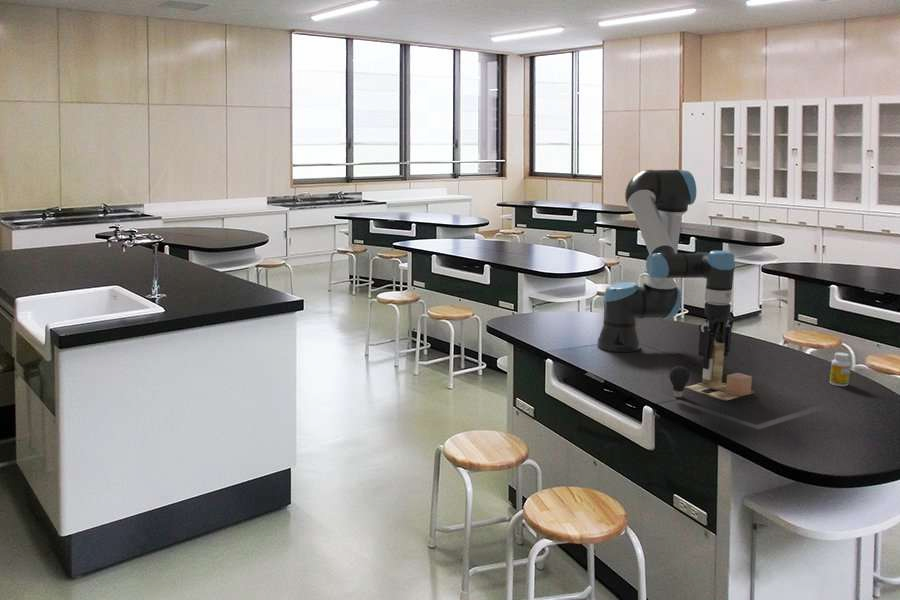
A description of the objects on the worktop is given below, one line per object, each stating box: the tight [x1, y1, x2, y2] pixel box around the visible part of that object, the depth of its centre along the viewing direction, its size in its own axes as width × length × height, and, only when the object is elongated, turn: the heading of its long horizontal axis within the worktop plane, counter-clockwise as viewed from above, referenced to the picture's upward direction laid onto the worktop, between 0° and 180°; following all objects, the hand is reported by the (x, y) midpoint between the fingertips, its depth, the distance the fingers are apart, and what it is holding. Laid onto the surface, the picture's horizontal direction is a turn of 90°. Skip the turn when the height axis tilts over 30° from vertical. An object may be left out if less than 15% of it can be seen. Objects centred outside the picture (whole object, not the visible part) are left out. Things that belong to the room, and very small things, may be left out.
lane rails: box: [684, 382, 755, 402], centre depth 246 cm, size 15×14×1 cm
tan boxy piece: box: [700, 340, 753, 397], centre depth 246 cm, size 15×5×14 cm, turn 35°
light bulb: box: [669, 365, 690, 400], centre depth 239 cm, size 6×6×10 cm
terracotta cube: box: [726, 372, 753, 397], centre depth 244 cm, size 5×5×5 cm
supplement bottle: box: [829, 352, 851, 387], centre depth 256 cm, size 5×5×10 cm
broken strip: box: [686, 383, 738, 401], centre depth 244 cm, size 15×5×1 cm, turn 35°
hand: (712, 377), depth 251 cm, fingers open, 4 cm apart
